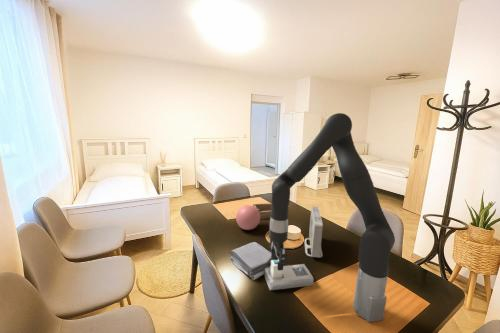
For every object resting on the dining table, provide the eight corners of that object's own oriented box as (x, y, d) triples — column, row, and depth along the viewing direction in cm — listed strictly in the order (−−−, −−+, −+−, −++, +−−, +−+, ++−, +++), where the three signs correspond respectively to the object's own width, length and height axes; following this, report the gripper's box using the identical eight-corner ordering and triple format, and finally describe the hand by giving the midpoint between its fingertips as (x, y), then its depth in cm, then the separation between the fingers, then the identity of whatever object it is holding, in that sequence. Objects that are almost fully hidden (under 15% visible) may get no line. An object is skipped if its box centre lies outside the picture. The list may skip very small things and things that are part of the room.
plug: (281, 284, 95) (283, 263, 94) (272, 285, 95) (273, 264, 93) (278, 277, 99) (280, 257, 97) (270, 278, 99) (271, 258, 97)
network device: (323, 262, 112) (327, 225, 108) (305, 260, 114) (309, 223, 110) (318, 237, 136) (322, 206, 133) (304, 235, 138) (306, 205, 134)
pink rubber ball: (268, 226, 149) (269, 204, 146) (248, 237, 135) (249, 212, 132) (251, 219, 159) (251, 198, 156) (230, 228, 144) (231, 206, 141)
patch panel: (312, 286, 96) (313, 277, 95) (269, 291, 92) (270, 282, 91) (303, 271, 105) (304, 263, 104) (263, 275, 101) (264, 267, 100)
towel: (253, 251, 120) (253, 238, 118) (277, 269, 106) (278, 254, 104) (228, 261, 111) (229, 247, 109) (251, 283, 97) (252, 266, 95)
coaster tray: (279, 217, 163) (279, 211, 162) (257, 219, 160) (257, 212, 159) (272, 209, 179) (273, 203, 178) (252, 210, 176) (253, 204, 175)
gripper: (294, 235, 86) (291, 273, 89) (281, 219, 100) (279, 253, 103) (275, 237, 84) (273, 275, 87) (265, 221, 98) (263, 254, 101)
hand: (276, 263), depth 95 cm, fingers open, 8 cm apart
